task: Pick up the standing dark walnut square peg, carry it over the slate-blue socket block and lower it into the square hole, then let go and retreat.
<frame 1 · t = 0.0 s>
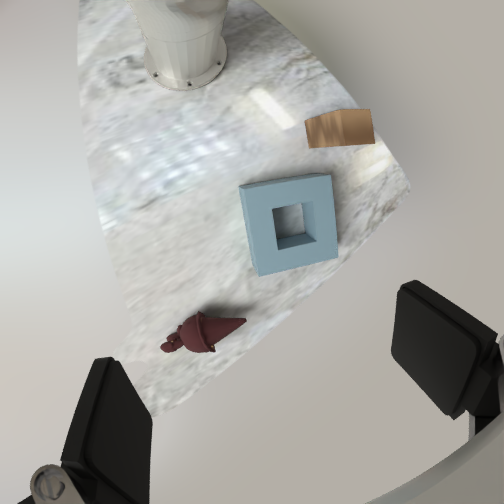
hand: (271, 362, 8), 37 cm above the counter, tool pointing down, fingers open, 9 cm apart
socket block: (285, 218, 46), on the counter
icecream: (202, 321, 49), on the counter
walnut peg: (319, 133, 42), on the counter
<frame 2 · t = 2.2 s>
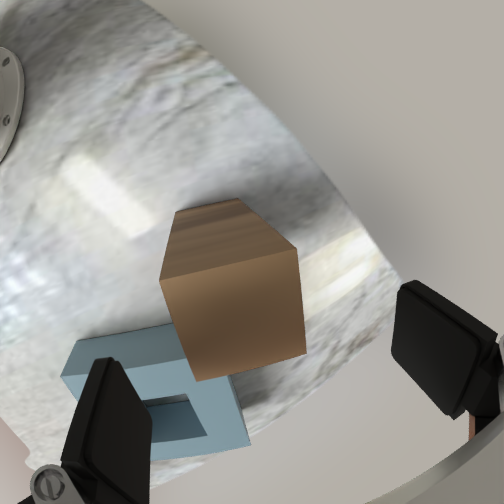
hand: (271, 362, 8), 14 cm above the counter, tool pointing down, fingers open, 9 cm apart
socket block: (163, 383, 24), on the counter
walnut peg: (213, 235, 21), on the counter
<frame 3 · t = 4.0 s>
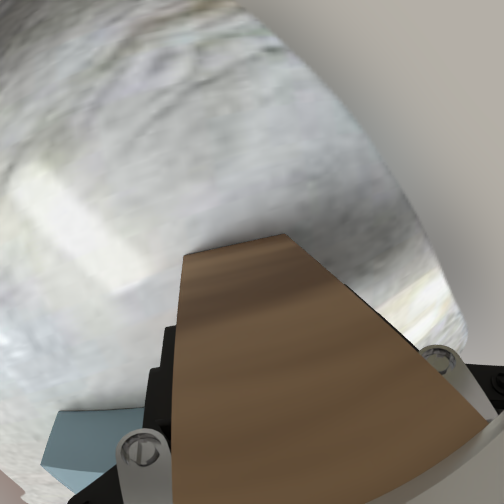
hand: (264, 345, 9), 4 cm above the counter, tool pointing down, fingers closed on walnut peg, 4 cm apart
socket block: (173, 458, 17), on the counter
walnut peg: (243, 290, 13), on the counter, touching gripper
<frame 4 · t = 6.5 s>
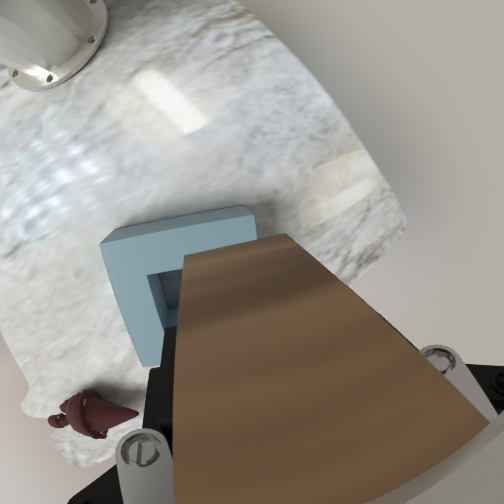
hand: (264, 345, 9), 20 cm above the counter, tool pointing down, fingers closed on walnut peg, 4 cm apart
socket block: (190, 278, 29), on the counter
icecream: (95, 397, 32), on the counter
walnut peg: (244, 290, 13), point 15 cm above the counter, touching gripper
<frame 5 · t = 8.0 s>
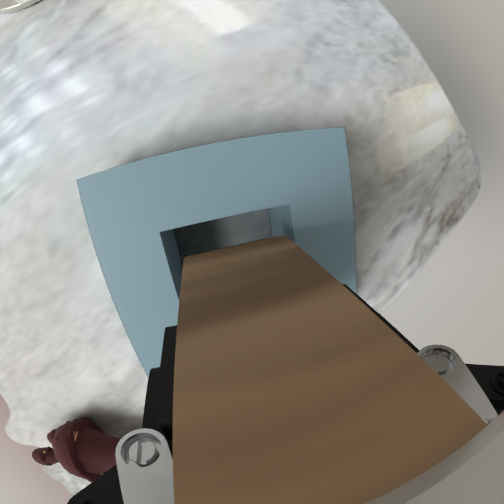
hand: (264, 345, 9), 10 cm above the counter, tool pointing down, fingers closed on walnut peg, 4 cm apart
socket block: (226, 247, 19), on the counter
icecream: (91, 425, 22), on the counter
walnut peg: (244, 291, 13), point 6 cm above the counter, touching gripper
when the fingers open (7 cm above the counter, at t = 9.0 s): walnut peg drops 2 cm, resting in socket block.
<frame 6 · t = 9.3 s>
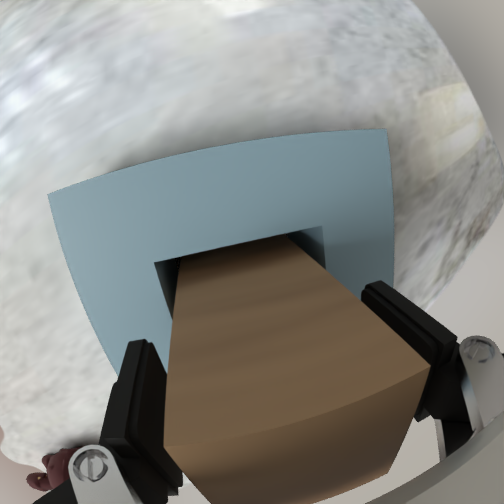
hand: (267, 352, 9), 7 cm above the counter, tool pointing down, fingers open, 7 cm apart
socket block: (236, 271, 16), on the counter
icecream: (88, 452, 19), on the counter
walnut peg: (234, 271, 16), resting in socket block
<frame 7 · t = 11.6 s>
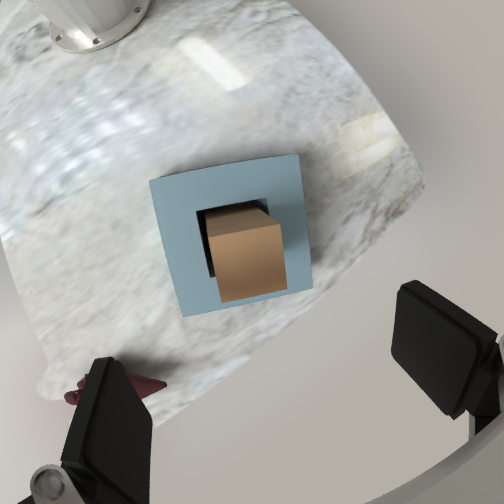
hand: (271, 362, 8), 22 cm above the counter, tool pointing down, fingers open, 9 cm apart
socket block: (231, 226, 30), on the counter
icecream: (118, 372, 33), on the counter
walnut peg: (230, 226, 30), resting in socket block
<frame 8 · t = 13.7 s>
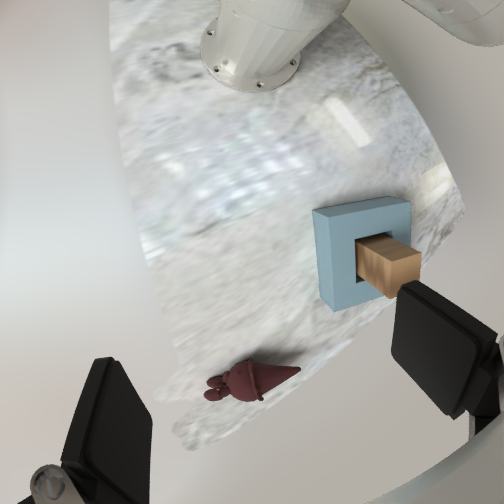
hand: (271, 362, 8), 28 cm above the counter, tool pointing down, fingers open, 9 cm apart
socket block: (356, 245, 40), on the counter
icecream: (248, 366, 44), on the counter
walnut peg: (355, 245, 40), resting in socket block
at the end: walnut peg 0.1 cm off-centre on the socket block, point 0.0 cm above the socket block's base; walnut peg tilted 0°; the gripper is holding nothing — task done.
